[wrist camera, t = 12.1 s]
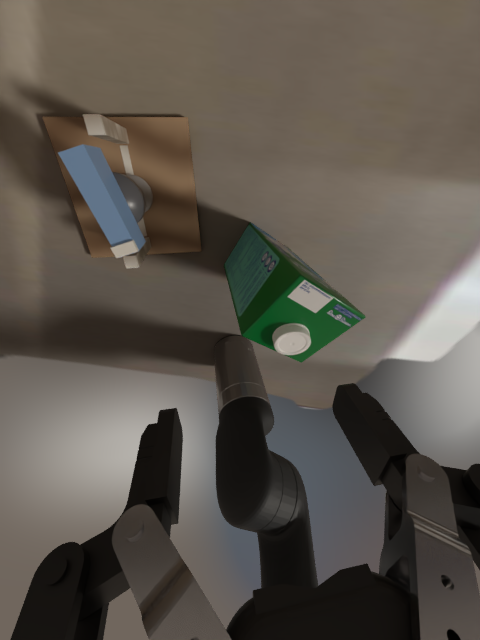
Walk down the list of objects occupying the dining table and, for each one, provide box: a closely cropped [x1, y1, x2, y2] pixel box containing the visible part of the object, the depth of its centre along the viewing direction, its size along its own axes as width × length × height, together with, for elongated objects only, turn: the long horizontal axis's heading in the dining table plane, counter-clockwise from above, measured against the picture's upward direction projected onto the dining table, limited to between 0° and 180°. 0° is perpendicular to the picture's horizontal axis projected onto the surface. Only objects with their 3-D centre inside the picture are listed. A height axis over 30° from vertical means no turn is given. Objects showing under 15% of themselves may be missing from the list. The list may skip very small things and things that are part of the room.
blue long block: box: [58, 144, 146, 258], centre depth 26 cm, size 6×10×6 cm, turn 15°
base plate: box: [43, 114, 201, 268], centre depth 32 cm, size 18×18×11 cm
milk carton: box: [224, 222, 365, 362], centre depth 34 cm, size 9×9×25 cm
